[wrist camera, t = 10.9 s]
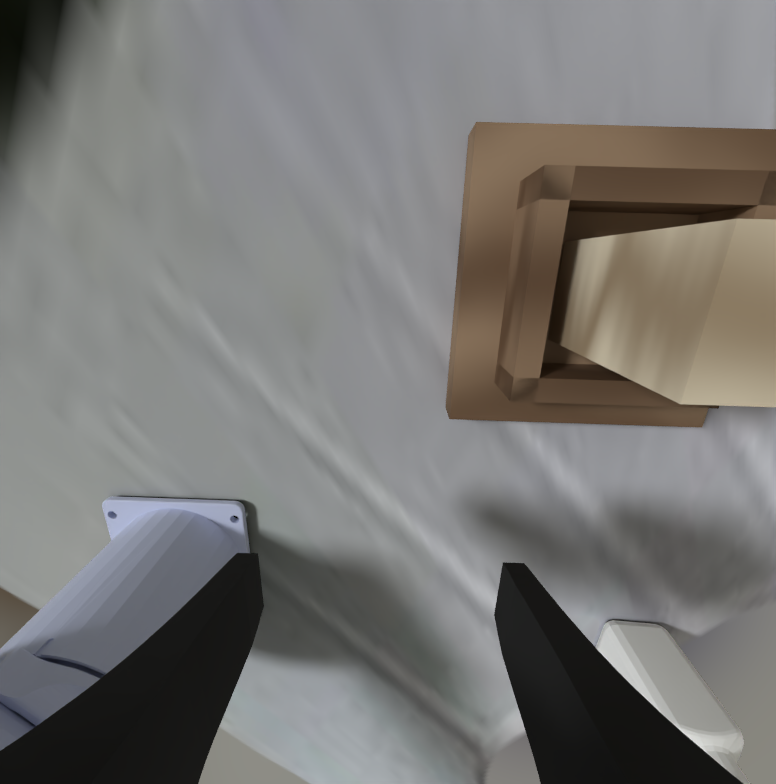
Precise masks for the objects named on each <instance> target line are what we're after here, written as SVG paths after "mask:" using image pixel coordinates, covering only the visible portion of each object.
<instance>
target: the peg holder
mask: <svg viewBox="0 0 776 784" xmlns="http://www.w3.org/2000/svg"><path fill="white" fill-rule="evenodd" d="M731 219H773V220H776V130H775V129H735V128H694V127H654V126H614V125H574V124H534V123H493V122H476V123H475V125H474V127H473V129H472V130H471V132H470V134H469V137H468V149H467V161H466V173H465V185H464V196H463V208H462V220H461V232H460V244H459V256H458V267H457V279H456V291H455V303H454V315H453V326H452V338H451V350H450V362H449V374H448V386H447V397H446V410H447V413H448V416H449V419H465V420H495V421H525V422H556V423H586V424H617V425H647V426H677V427H702V426H703V423H704V420H705V417H706V414H707V411H708V408H719V405H688V404H679V403H677V402H675V401H673V400H671V399H669V398H667V397H665V396H663V395H660V394H658V393H656V392H654V391H652V390H650V389H648V388H646V387H644V386H642V385H640V384H638V383H636V382H634V381H632V380H630V379H628V378H626V377H624V376H622V375H620V374H618V373H616V372H614V371H612V370H610V369H608V368H606V367H604V366H601V365H599V364H597V363H595V362H593V361H591V360H589V359H587V358H585V357H583V356H581V355H579V354H577V353H575V352H573V351H571V350H569V349H567V348H565V347H563V346H561V345H559V344H557V343H555V342H553V341H551V340H549V339H548V337H549V331H550V325H551V319H552V313H553V307H554V302H555V296H556V290H557V284H558V278H559V272H560V266H561V261H562V255H563V249H564V243H565V242H567V241H574V240H581V239H589V238H596V237H604V236H611V235H619V234H626V233H634V232H641V231H649V230H656V229H663V228H671V227H678V226H686V225H693V224H701V223H708V222H716V221H723V220H731Z"/></svg>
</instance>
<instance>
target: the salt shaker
mask: <svg viewBox="0 0 776 784" xmlns="http://www.w3.org/2000/svg"><path fill="white" fill-rule="evenodd" d="M595 648H596V649H597V650H598V651H599V652H600V653H601V654H602V655H603V656H604V657H605V658H606V659H607V660H608V661H609V663H610V664H611V665H612V666H613V667H614V668H615V669H616V670H617V671H618V672H619V673H620V674H621V675H622V676H623V677H624V678H625V679H626V680H627V681H628V682H629V683H630V684H631V685H632V686H633V687H634V688H635V689H636V690H637V691H638V692H639V693H640V694H641V695H642V696H644V697H645V698H646V699H647V700H648V701H649V702H650V703H651V704H652V705H653V706H654V707H655V708H656V709H657V710H658V711H659V712H660V713H661V714H663V715H664V716H665V717H666V718H667V719H668V720H669V721H670V722H671V723H673V724H674V725H675V726H676V727H677V728H678V729H679V730H680V731H681V732H683V733H684V734H685V735H686V736H687V737H689V738H690V739H691V740H692V741H693V742H694V743H696V744H697V745H698V746H699V747H700V748H701V749H703V750H704V751H705V752H706V753H707V754H708V755H710V756H711V757H712V758H713V759H714V760H715V761H717V762H718V763H719V764H720V765H721V766H722V767H724V768H725V769H726V770H727V771H729V772H730V773H731V774H732V775H734V776H735V777H736V778H737V779H738V780H740V781H741V782H742V783H743V784H751V783H750V782H749V780H748V779H747V777H746V776H745V774H744V773H743V771H742V770H741V769H740V767H739V766H738V764H737V762H738V761H739V759H740V756H741V753H742V749H743V746H744V739H743V736H742V732H741V730H740V728H739V727H738V725H737V724H736V723H735V721H734V720H733V719H732V717H731V716H730V715H729V713H728V712H727V711H726V709H725V708H724V707H723V706H722V704H721V703H720V701H719V700H718V698H717V697H716V696H715V694H714V693H713V692H712V690H711V689H710V688H709V686H708V685H707V684H706V682H705V681H704V680H703V679H702V677H701V676H700V674H699V673H698V671H697V670H696V669H695V667H694V666H693V665H692V663H691V662H690V661H689V659H688V658H687V657H686V655H685V654H684V653H683V651H682V650H681V648H680V647H679V646H678V644H677V643H676V642H675V640H674V639H673V638H672V636H671V635H670V634H669V632H668V631H667V630H666V629H665V628H663V627H662V626H660V625H657V624H651V623H639V622H627V621H615V620H612V621H609V622H607V623H606V624H604V627H603V629H602V632H601V634H600V637H599V639H598V642H597V645H596V647H595Z"/></svg>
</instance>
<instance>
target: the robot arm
mask: <svg viewBox="0 0 776 784" xmlns="http://www.w3.org/2000/svg"><path fill="white" fill-rule="evenodd" d="M102 508H103V511H104V515H105V519H106V522H107V526H108V530H109V533H110V537H111V542H110V543H109V544H108V545H107V546H106V547H105V548H104V549H103V550H101V551H100V552H99V553H98V554H97V555H96V556H95V557H94V558H93V559H92V560H91V561H90V562H89V563H88V564H87V565H86V566H85V567H84V568H83V569H82V570H81V571H80V572H79V573H78V574H77V575H76V576H75V577H74V578H73V579H72V580H71V581H70V582H69V583H68V584H67V585H65V586H64V587H63V588H62V589H61V590H60V591H59V592H58V593H57V594H56V595H55V596H54V597H53V598H52V599H51V600H50V601H49V602H48V603H47V604H46V605H45V606H44V607H43V608H42V609H41V610H40V611H39V612H38V613H37V614H36V615H35V616H34V617H33V618H32V619H31V620H30V621H28V622H27V623H26V624H25V625H24V627H22V628H21V629H20V631H18V632H17V633H16V634H15V635H14V636H13V637H12V638H11V639H10V640H9V641H8V642H7V643H6V644H5V645H4V646H3V647H2V648H1V649H0V784H198V782H199V779H200V776H201V773H202V770H203V767H204V764H205V761H206V759H207V756H208V753H209V750H210V748H211V745H212V743H213V740H214V737H215V735H216V733H217V730H218V728H219V725H220V723H221V720H222V718H223V716H224V713H225V711H226V708H227V706H228V703H229V701H230V699H231V696H232V694H233V691H234V689H235V686H236V684H237V682H238V679H239V677H240V674H241V672H242V669H243V667H244V664H245V662H246V659H247V657H248V654H249V652H250V649H251V647H252V644H253V641H254V638H255V634H256V631H257V628H258V624H259V621H260V617H261V614H262V610H263V607H264V605H263V596H262V587H261V578H260V569H259V560H258V554H256V553H250V547H249V539H248V530H247V522H246V514H245V507H244V505H243V504H242V503H240V502H239V501H228V500H199V499H171V498H143V497H114V496H113V497H109V498H107V499H106V500H105V501H104V502H103V503H102ZM114 512H115V513H116V514H115V513H114ZM234 516H237V517H238V518H239V519H237V518H235V517H234ZM494 616H495V621H496V626H497V631H498V636H499V641H500V646H501V651H502V655H503V659H504V662H505V665H506V669H507V672H508V675H509V678H510V682H511V685H512V688H513V692H514V695H515V698H516V701H517V704H518V708H519V711H520V714H521V717H522V720H523V724H524V727H525V730H526V733H527V737H528V739H529V743H530V746H531V749H532V752H533V756H534V760H535V763H536V767H537V771H538V774H539V778H540V782H541V784H743V783H742V782H741V781H740V780H738V779H737V778H736V777H735V776H734V775H732V774H731V773H730V772H729V771H727V770H726V769H725V768H724V767H722V766H721V765H720V764H719V763H718V762H717V761H715V760H714V759H713V758H712V757H711V756H710V755H708V754H707V753H706V752H705V751H704V750H703V749H701V748H700V747H699V746H698V745H697V744H696V743H694V742H693V741H692V740H691V739H690V738H689V737H687V736H686V735H685V734H684V733H683V732H681V731H680V730H679V729H678V728H677V727H676V726H675V725H674V724H673V723H671V722H670V721H669V720H668V719H667V718H666V717H665V716H664V715H663V714H661V713H660V712H659V711H658V710H657V709H656V708H655V707H654V706H653V705H652V704H651V703H650V702H649V701H648V700H647V699H646V698H645V697H644V696H642V695H641V694H640V693H639V692H638V691H637V690H636V689H635V688H634V687H633V686H632V685H631V684H630V683H629V682H628V681H627V680H626V679H625V678H624V677H623V676H622V675H621V674H620V673H619V672H618V671H617V670H616V669H615V668H614V667H613V666H612V665H611V664H610V663H609V661H608V660H607V659H606V658H605V657H604V656H603V655H602V654H601V653H600V652H599V651H598V650H597V649H596V648H595V646H594V645H593V644H592V643H591V642H590V641H589V640H588V639H587V638H586V637H585V635H584V634H583V633H582V632H581V631H580V630H579V629H578V627H577V626H576V625H575V624H574V623H573V622H572V621H571V619H570V618H569V617H568V616H567V615H566V614H565V612H564V611H563V610H562V609H561V608H560V607H559V605H558V604H557V603H556V602H555V600H554V599H553V598H552V597H551V596H550V594H549V593H548V592H547V591H546V590H545V588H544V587H543V586H542V585H541V583H540V582H539V581H538V580H537V578H536V577H535V576H534V575H533V573H532V572H531V571H530V570H529V569H528V567H527V566H526V565H525V564H524V563H503V566H502V572H501V578H500V584H499V590H498V596H497V602H496V608H495V614H494Z"/></svg>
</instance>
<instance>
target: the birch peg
mask: <svg viewBox="0 0 776 784" xmlns="http://www.w3.org/2000/svg"><path fill="white" fill-rule="evenodd" d="M548 339H549V340H551V341H553V342H555V343H557V344H559V345H561V346H563V347H565V348H567V349H569V350H571V351H573V352H575V353H577V354H579V355H581V356H583V357H585V358H587V359H589V360H591V361H593V362H595V363H597V364H599V365H601V366H604V367H606V368H608V369H610V370H612V371H614V372H616V373H618V374H620V375H622V376H624V377H626V378H628V379H630V380H632V381H634V382H636V383H638V384H640V385H642V386H644V387H646V388H648V389H650V390H652V391H654V392H656V393H658V394H660V395H663V396H665V397H667V398H669V399H671V400H673V401H675V402H677V403H679V404H688V405H720V406H752V407H776V220H773V219H731V220H723V221H716V222H708V223H701V224H693V225H686V226H678V227H671V228H663V229H656V230H649V231H641V232H634V233H626V234H619V235H611V236H604V237H596V238H589V239H581V240H574V241H567V242H565V243H564V249H563V255H562V261H561V266H560V272H559V278H558V284H557V290H556V296H555V302H554V307H553V313H552V319H551V325H550V331H549V337H548Z"/></svg>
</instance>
